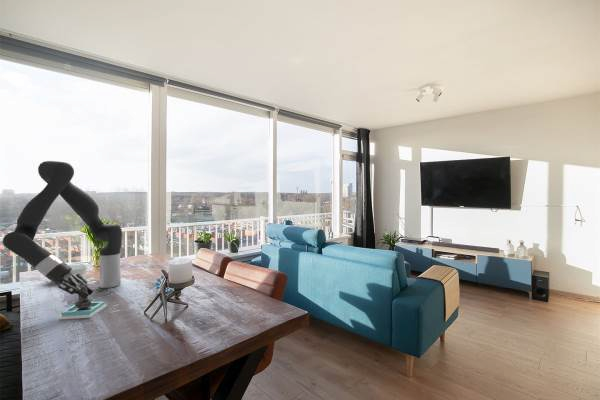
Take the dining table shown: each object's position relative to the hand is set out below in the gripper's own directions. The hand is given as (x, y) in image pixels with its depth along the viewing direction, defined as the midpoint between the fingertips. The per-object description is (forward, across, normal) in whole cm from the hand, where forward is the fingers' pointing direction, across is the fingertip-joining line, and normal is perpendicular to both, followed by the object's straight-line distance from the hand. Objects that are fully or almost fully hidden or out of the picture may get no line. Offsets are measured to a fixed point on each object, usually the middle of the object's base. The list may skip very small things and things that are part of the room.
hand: (89, 295), depth 119 cm
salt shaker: (+3, 0, +6) cm, 7 cm away
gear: (+25, +19, -14) cm, 34 cm away
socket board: (+4, 0, +6) cm, 7 cm away
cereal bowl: (-16, +57, +27) cm, 65 cm away
